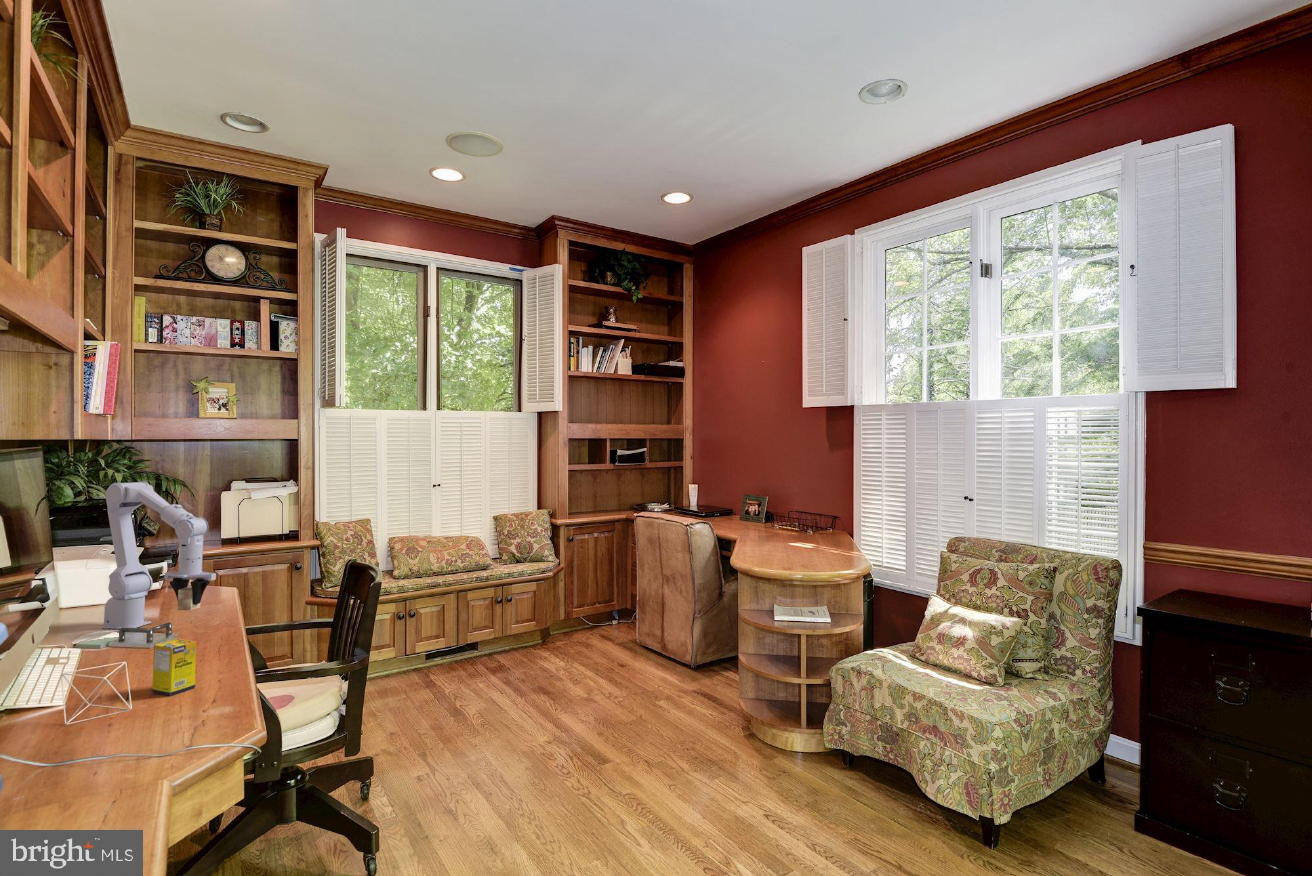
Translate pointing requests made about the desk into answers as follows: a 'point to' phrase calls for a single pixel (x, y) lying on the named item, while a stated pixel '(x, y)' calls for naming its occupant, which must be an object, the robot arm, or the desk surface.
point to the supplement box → (174, 666)
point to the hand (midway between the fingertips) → (189, 603)
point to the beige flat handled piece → (144, 637)
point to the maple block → (186, 599)
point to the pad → (100, 642)
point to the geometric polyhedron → (94, 690)
